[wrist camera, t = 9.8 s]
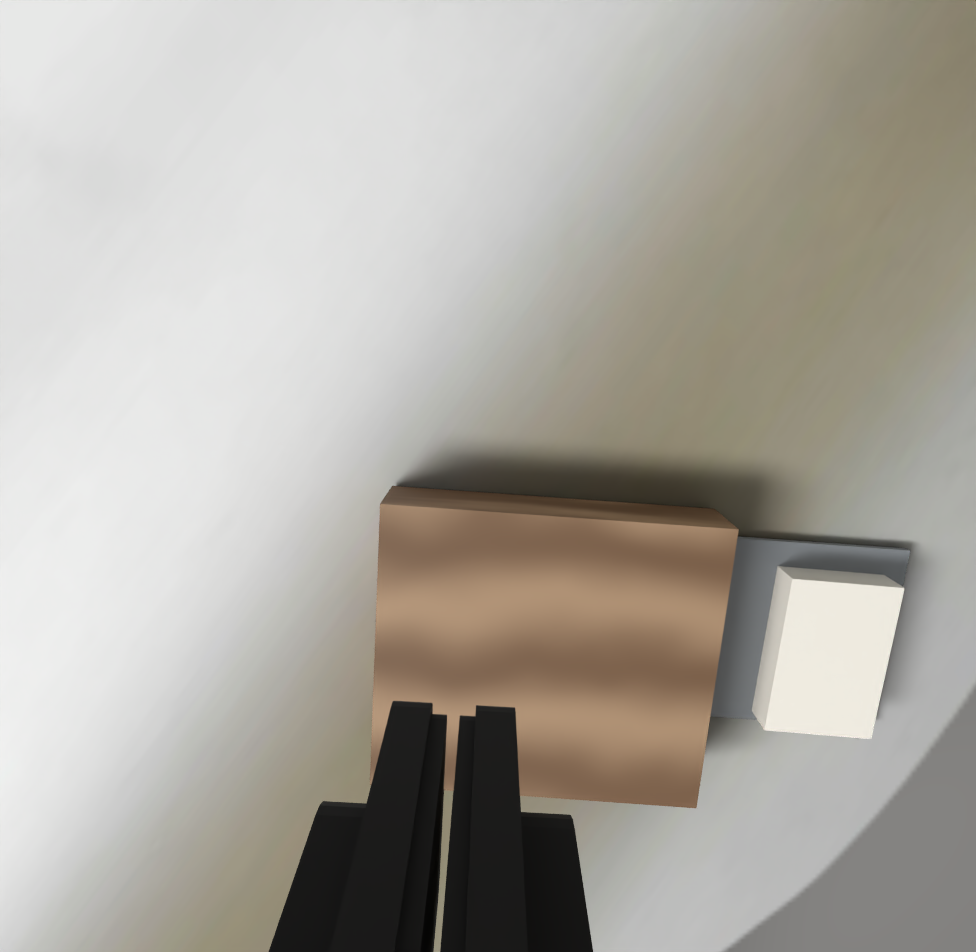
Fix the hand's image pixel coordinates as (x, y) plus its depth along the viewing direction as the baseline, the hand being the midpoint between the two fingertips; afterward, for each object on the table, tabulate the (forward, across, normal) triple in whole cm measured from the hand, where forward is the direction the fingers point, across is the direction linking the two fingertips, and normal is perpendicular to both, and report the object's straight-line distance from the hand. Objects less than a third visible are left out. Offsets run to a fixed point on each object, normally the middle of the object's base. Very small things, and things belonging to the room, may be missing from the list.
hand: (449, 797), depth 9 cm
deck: (+29, -4, +12) cm, 31 cm away
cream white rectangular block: (+26, -20, +12) cm, 35 cm away
